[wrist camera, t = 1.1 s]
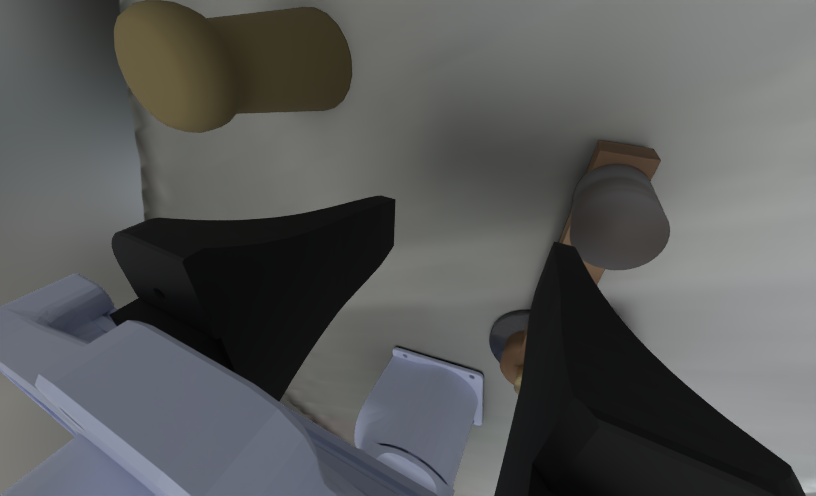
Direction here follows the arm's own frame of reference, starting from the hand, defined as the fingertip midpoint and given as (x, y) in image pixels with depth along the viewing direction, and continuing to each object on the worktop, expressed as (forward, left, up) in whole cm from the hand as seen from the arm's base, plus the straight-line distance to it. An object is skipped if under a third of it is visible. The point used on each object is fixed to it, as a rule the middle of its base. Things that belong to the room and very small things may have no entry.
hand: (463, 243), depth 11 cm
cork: (-13, +6, -11) cm, 18 cm away
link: (+4, -8, -10) cm, 13 cm away
